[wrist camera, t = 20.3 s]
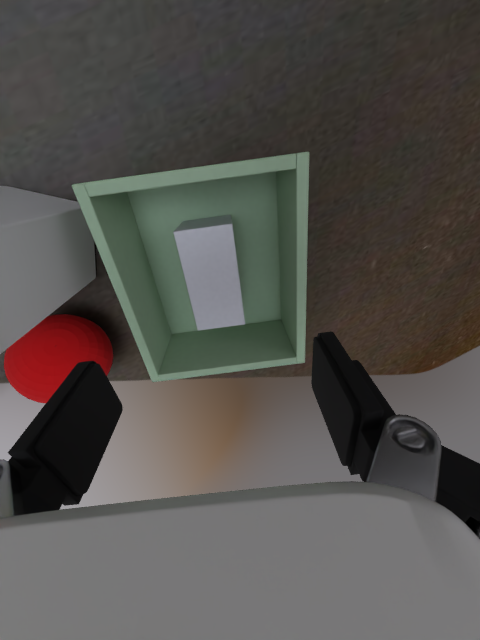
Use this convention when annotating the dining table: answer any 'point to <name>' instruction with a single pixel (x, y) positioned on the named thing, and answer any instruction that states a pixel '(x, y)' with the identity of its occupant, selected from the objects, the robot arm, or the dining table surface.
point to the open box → (167, 274)
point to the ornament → (54, 354)
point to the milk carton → (39, 258)
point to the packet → (211, 271)
